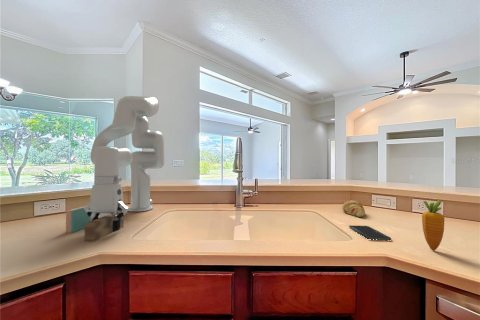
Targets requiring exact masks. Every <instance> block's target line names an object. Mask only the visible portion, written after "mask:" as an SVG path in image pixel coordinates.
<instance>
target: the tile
mask: <svg viewBox="0 0 480 320" xmlns="http://www.w3.org/2000/svg"><path fill="white" fill-rule="evenodd" d="M86 206H87V205H83V206H80V207H75V208H72V209H70V208H69V209H67V210H66V211H65V215H66V216H65V233H66V234H70V233H71V234H74V233H76V232H78V231H81V230H83V229H84V230H85V223H87V222H90V221H92V220H90V217H89V216H88V215H87V213H86V211H85V210H84V208H85V207H86Z"/></svg>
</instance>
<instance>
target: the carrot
mask: <svg viewBox="0 0 480 320" xmlns="http://www.w3.org/2000/svg"><path fill="white" fill-rule="evenodd" d="M423 204H424V205H425V206H426V208H427V210H428V211H424V212H423V213H421V214H422V215H421V222H422V223H421V224H422V231H423V236H424V239H425V241H426V244H427V245H428V247H429V249H430V250H431V251H432V250H434V251H436V250H437V249H438V248H439V246H440V244H441V243H442V239H443V237H444V232H445V216H444V214H442V213H440V212H439V211H440V210H442V207H440V205H441V204H442V202H441V200H436V202H433V201H432V202H431V203H428V201H426V200H423Z"/></svg>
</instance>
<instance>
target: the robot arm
mask: <svg viewBox="0 0 480 320" xmlns="http://www.w3.org/2000/svg"><path fill="white" fill-rule="evenodd" d="M159 107H160V106H159V101H158V99H157V98H156V97H154V96H141V95H139V96H138V95H127V96H123V97H121V98H120V99H119V100H118V102H117V105H116V108H115V111H114V115H113V120H112V123H111V124H110V125H108V126H107V127H106V128H104V129H103V130H101V132H99V133H98V134H97V135H96V137H95V138H94V141H93V144H92V146H91V151H90V154H89V155H90V161H91V163H92V164H93V165H94V166H93V167H94V177H93V181H94V182H93V185H92V188H91V191H90V198H89V202H88V204H87V205H85V206H86V207H85V208H84V210H85V211H86V213H87V215H88V216H89V217H90V220H92V221H93V220H96V219H99V218H98V217H99V215H100V213H111V214H112V216H113V218H114V221H113V232H112V233H115V232H117V231H119V230H121V228H120V223H121V218H122V217H123V216H124V217H125V215H126V213H128V212H134V213H135V212H137V213H138V212H139V213H140V212H147V211H150V210H151V211H152V210H153V209H154V206H153V205H151V204H152V203H153V199H151V175H150V172H148V171H147V169H150V170H151V169H162V168H163V167H164V165H165V139H164V135H163V133H162V132H160V131H157V130H150V129H149V119H147V118H150V117H153V116H155V115H156V114H157V113H158V112H159ZM128 135H131V144H132V146H133V147H134V148H136V149H146V150H134V151H133V152H132V151H131V150H130V149H129V148H127V147H116V146H109V144H110V143H111V142H113V141H114V140H117V139H120V138H123V137H126V136H128ZM147 149H152V150H147ZM128 166H130V206H127V205H125V204H124V192H123V187H122V185H121V183H120V182H122V179H123V178H122V177H120V172H119V171H120V167H128ZM121 210H122V211H121ZM120 211H121V213H120Z"/></svg>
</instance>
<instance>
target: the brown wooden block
mask: <svg viewBox="0 0 480 320" xmlns="http://www.w3.org/2000/svg"><path fill="white" fill-rule="evenodd" d="M120 213H121V212H120ZM124 217H125V215H124V216H123V217H122V218H121V223H120V229H122V228H124ZM113 221H114V218H113V216H112V214H110V215H107V216H104V217H101V218H99V219H96V220H93V221H90V222H87V223H85V228H84V242H88V243H89V242H91V243H94V242H96V241H99V240H101V239H102V238H104V237H106V236H108V235H111V234H113V233H114V232H113Z"/></svg>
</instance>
